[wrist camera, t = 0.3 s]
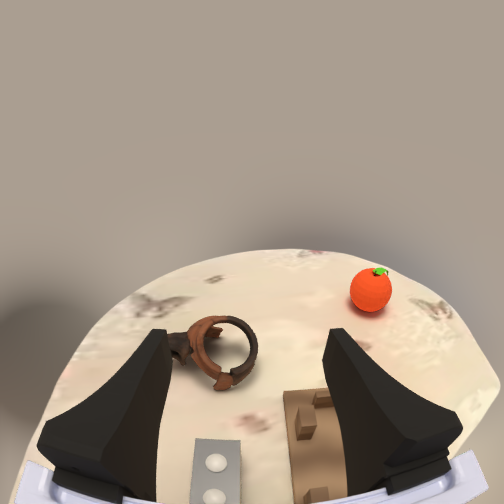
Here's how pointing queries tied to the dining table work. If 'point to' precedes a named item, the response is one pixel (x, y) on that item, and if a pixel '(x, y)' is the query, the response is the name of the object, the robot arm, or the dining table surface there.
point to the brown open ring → (194, 339)
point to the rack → (314, 446)
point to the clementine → (371, 289)
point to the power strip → (216, 472)
